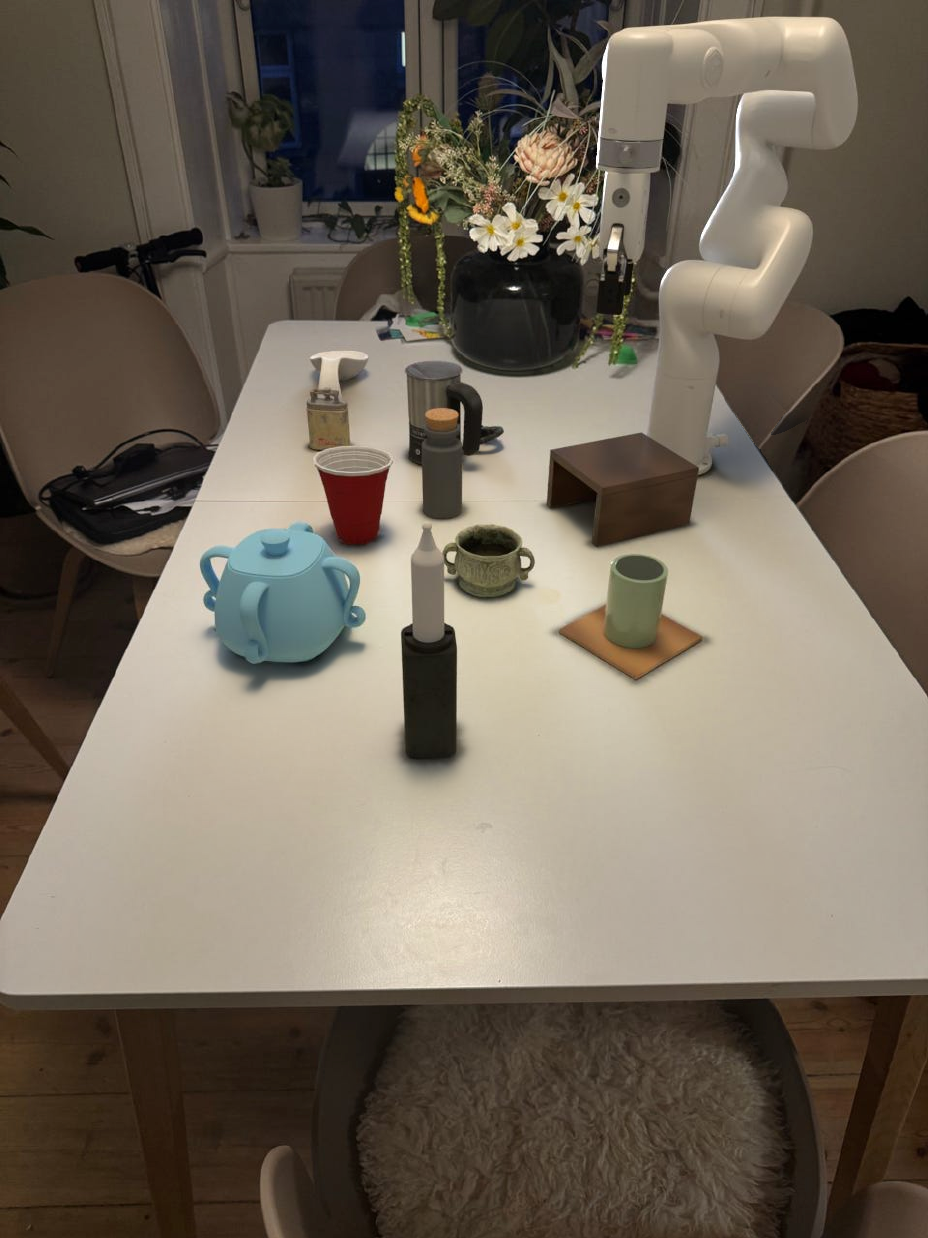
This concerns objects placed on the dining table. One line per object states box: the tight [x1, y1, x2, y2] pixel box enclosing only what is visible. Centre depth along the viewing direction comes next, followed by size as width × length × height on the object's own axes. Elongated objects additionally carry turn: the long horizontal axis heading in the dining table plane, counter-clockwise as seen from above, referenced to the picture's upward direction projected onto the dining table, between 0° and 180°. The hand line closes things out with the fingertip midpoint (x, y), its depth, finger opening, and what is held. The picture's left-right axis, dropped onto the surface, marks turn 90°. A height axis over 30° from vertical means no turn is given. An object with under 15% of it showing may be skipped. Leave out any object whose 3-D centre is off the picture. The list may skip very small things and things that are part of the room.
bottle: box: [421, 408, 463, 520], centre depth 127 cm, size 6×6×15 cm
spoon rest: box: [309, 350, 369, 399], centre depth 173 cm, size 24×12×7 cm, turn 1°
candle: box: [400, 521, 458, 760], centre depth 82 cm, size 5×5×25 cm
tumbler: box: [603, 553, 669, 648], centre depth 102 cm, size 6×6×9 cm
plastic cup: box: [312, 445, 394, 546], centre depth 121 cm, size 11×11×12 cm
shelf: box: [546, 432, 699, 547], centre depth 128 cm, size 16×14×9 cm
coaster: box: [558, 604, 703, 681], centre depth 105 cm, size 12×12×1 cm
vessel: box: [441, 524, 536, 598], centre depth 113 cm, size 12×9×6 cm
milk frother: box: [404, 360, 505, 465], centre depth 145 cm, size 14×16×15 cm
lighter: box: [306, 387, 352, 451], centre depth 147 cm, size 7×4×10 cm, turn 82°
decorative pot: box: [199, 521, 367, 664], centre depth 100 cm, size 16×16×14 cm
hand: (613, 303), depth 114 cm, fingers open, 9 cm apart
